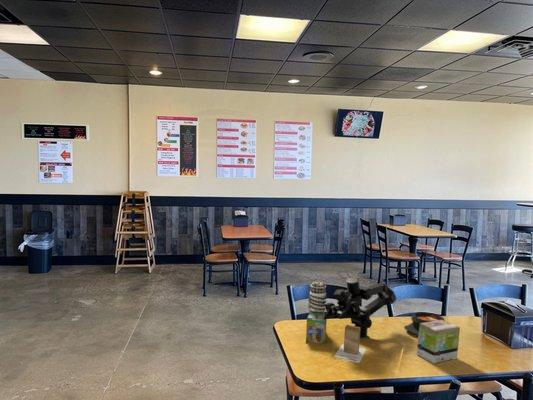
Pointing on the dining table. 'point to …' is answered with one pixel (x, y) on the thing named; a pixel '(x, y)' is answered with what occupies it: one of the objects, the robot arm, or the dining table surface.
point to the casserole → (421, 321)
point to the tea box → (438, 341)
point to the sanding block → (351, 339)
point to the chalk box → (316, 328)
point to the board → (350, 355)
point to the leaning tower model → (317, 298)
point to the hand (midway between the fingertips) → (331, 318)
